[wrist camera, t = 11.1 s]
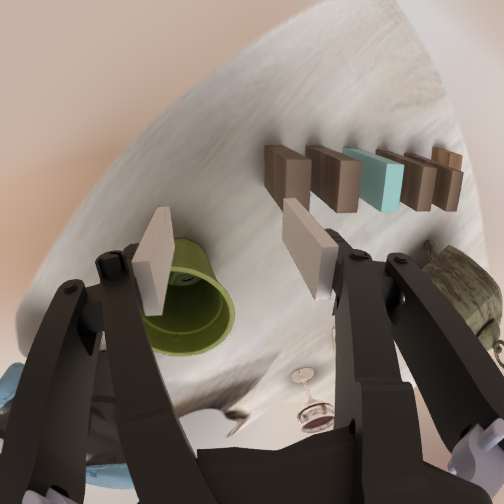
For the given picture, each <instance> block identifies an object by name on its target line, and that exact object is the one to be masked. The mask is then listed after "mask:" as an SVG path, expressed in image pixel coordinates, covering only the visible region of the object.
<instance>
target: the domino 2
mask: <svg viewBox="0 0 504 504" xmlns="http://www.w3.org/2000/svg"><path fill="white" fill-rule="evenodd" d="M305 157H307V158H309V159H311V160H312V163H311V185H310V190H311V191H312V192H313V193H314V194H315V195H316V196H318V197H319V198H320V199H321V200H322V201H323V202H325V203H326V204H327V205H328V206H329V207H330V208H331V209H333V210H334V211H335V212H336V213H356V212H357V209H358V200H359V191H360V182H361V171H362V161H360V160H357V159H355V158H352V157H350V156H347V155H344V154H342V153H339V152H337V151H334V150H331V149H328V148H326V147H323V146H306V156H305Z"/></svg>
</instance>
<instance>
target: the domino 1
mask: <svg viewBox="0 0 504 504" xmlns="http://www.w3.org/2000/svg"><path fill="white" fill-rule="evenodd" d="M311 163H312V160H311V159H309V158H307V157H305V156H303V155H301V154H299V153H297V152H295V151H293V150H291V149H289V148H287V147H285V146H265V187H266V189H267V190H268V192H269V193H270V194H271V196H272V197H273V199H274V200H275V202H276V203H277V204H278V206H279V207H280V209H281V210H282V212H283V199H284V198H296V199H297V200H298V201H299V202H300V203H301V204H302V206H303V207H304V208H305V209H306V210H307V211H308V212H309V203H310V185H311Z"/></svg>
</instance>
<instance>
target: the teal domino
mask: <svg viewBox="0 0 504 504" xmlns="http://www.w3.org/2000/svg"><path fill="white" fill-rule="evenodd" d="M343 154H344V155H347V156H350V157H352V158H355V159H357V160H360V161H362V171H361V182H360V191H359V197H360V198H361V199H363V200H364V201H366V202H367V203H368V204H370V205H371V206H373V207H374V208H376V209H377V210H379V211H380V212H398V207H399V201H400V194H401V187H402V179H403V171H404V165H403V164H400V163H398V162H395V161H392V160H390V159H387V158H384V157H381V156H379V155H376V154H373V153H370V152H367V151H364V150H361V149H357V148H343Z"/></svg>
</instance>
